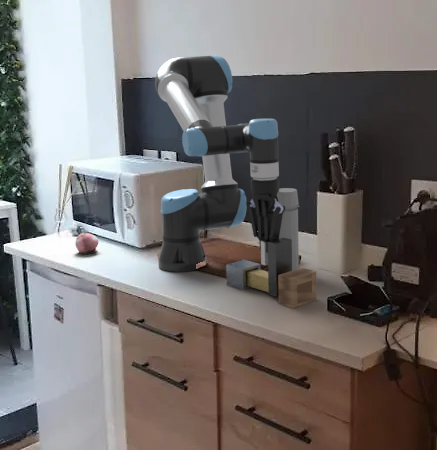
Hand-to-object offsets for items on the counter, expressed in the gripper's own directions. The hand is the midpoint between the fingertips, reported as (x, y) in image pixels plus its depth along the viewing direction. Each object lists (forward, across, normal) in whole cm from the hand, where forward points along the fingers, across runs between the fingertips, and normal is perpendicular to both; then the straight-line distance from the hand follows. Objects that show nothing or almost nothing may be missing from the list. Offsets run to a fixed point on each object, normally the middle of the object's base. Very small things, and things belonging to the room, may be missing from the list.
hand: (266, 263), depth 195 cm
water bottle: (+8, -9, +17) cm, 21 cm away
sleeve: (+8, -10, 0) cm, 13 cm away
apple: (+8, -74, -13) cm, 76 cm away
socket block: (+8, +11, 0) cm, 14 cm away
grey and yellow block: (+7, 0, 0) cm, 7 cm away
